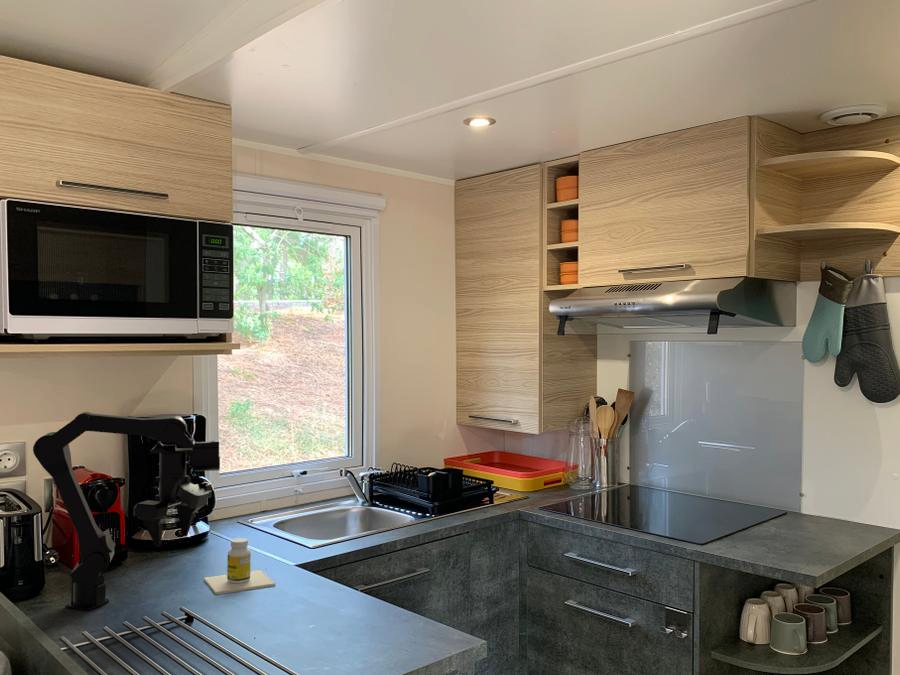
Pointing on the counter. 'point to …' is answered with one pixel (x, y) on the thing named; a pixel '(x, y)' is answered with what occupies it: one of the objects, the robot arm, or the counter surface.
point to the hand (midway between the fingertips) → (171, 540)
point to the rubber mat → (223, 586)
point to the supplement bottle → (239, 561)
